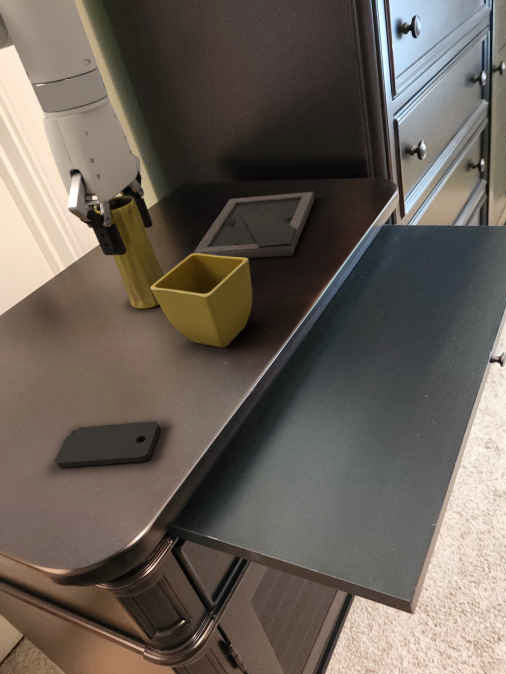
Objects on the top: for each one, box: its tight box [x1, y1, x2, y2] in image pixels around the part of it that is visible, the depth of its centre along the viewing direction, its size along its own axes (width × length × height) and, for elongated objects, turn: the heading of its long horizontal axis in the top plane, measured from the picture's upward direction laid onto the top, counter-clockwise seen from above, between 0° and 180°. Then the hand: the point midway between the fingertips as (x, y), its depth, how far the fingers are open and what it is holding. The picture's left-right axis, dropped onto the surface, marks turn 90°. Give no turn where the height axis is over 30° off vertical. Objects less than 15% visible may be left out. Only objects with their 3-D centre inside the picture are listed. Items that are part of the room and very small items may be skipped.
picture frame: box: [193, 191, 315, 259], centre depth 89 cm, size 16×2×21 cm
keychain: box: [54, 420, 161, 468], centre depth 54 cm, size 5×1×10 cm
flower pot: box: [150, 252, 253, 349], centre depth 64 cm, size 9×9×9 cm
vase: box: [94, 195, 165, 310], centre depth 73 cm, size 6×6×14 cm
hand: (129, 239), depth 71 cm, fingers open, 7 cm apart
